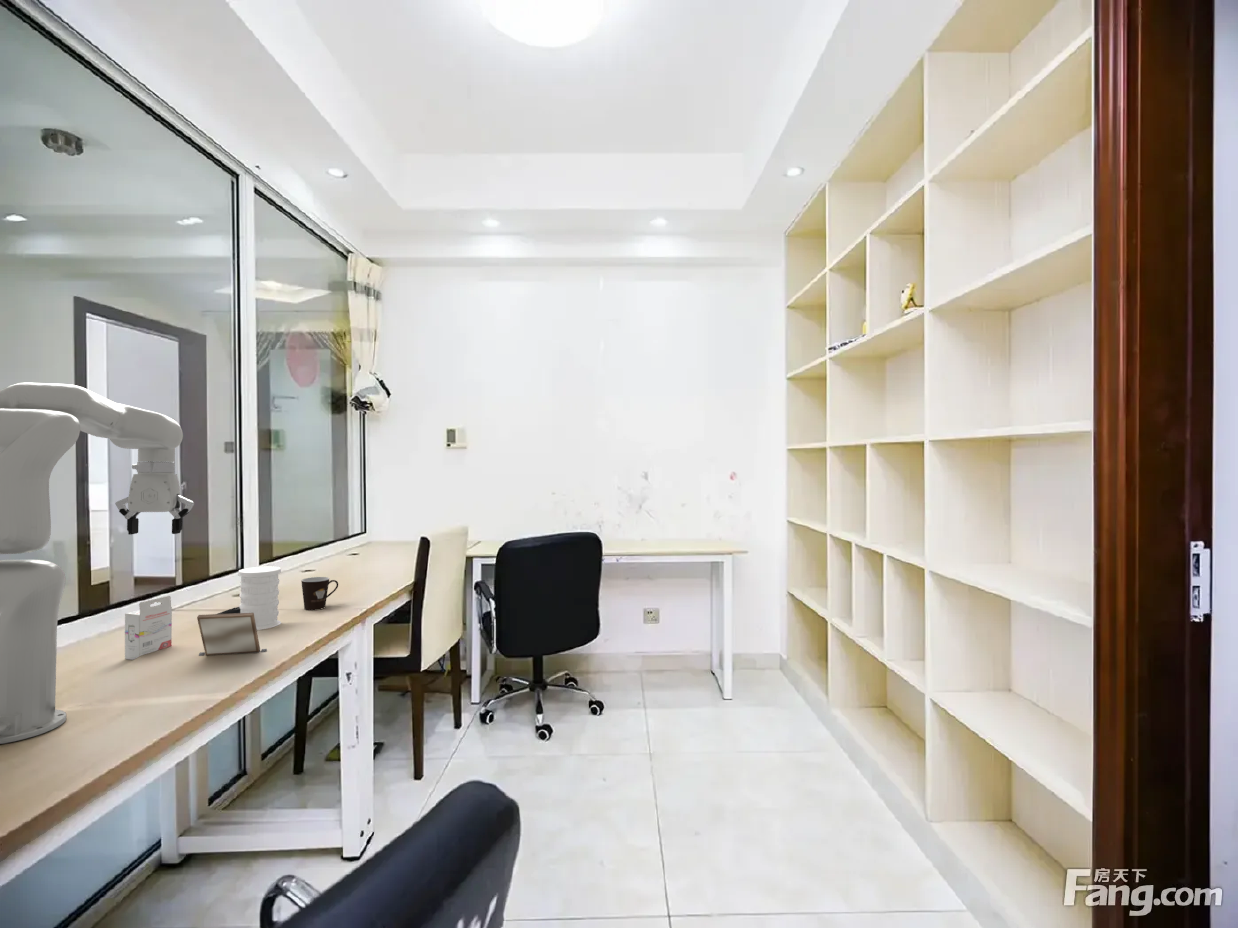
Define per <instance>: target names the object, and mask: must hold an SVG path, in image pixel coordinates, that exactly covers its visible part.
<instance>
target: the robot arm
mask: <svg viewBox="0 0 1238 928" xmlns="http://www.w3.org/2000/svg"><path fill="white" fill-rule="evenodd" d="M80 432H83V433H86V434H88V435H91V436H94V437H97V438H102V439H109V441H110V442H111V443H112V444H113V445H114V446H116V447H119V448H121V449H127V450H137V461H136V463H135V464H134V463H133V464H131V469H132V470H135V471H136V473H133V475H132V478H131V481H130V486H129V491H128V492H129V493H128V496H127V497H124V498H121V499H119V500H118V501H115V507H116V508H117V509H118V512H119V513H120V514H121V515H122V516H123V517H124V519H126V520H127V521H126V530H127V532H128V533H127V534H128V535H131V536H132V535H135V534H139V523H140V521H139V518H138V516H139V515H140V513H167V512H169V514H171V515H172V517H173V518H172V519H171V534H173V535H177V534H180V533H181V531H182V530H183V518H185V517H186V516H187V515H188V514H189V513H190V512H191V511H192V509H193V507H194V506H195V501H193V500H191V499H188V498H187V497H184V496H183V495H181V488H180V482H179V477H178V474H175V463H176V462H175V455H176V453H175V452H176V451H175V450H176V448H178V447H179V446H180V445H181V443H182V441H183V438H184V433H183V430H182V427H181V425H180V424H179V423H178V422H177V421H176V420H174V419H173V418H171V417H169V416H167V415H166V414H162V413H160V412H155V411H153V410H147V409H143V408H140V407H135V406H132V405H127V404H123V403H118V402H115V401H112V400H111V399H108V398H106V397H104V396H102V395H100V394H98V393H96V392H93V391H92V390H90V389H87V388H85V387H83V386H79V385H75V384H68V383H49V382H48V383H45V382H28V381H27V382H18V383H15V384H11V385H8V386H6V387H4V388H2V389H0V555H19V554H20V555H21V554H27V553H28V554H29V553H34V552H37V551H39V550H40V551H41V550H42V549H43V548H44V547H46V546H47V544H48V543H49V541H50V539H51V533H52V532H51V531H52V530H51V529H52V521H51V503H50V502H51V500H50V478H51V473H52V472H53V469H54V468H55V466H56V465H57V463H58V462H59V461H60V459H62V457H63V456H64V455H65V453H67V452H68V451H69V450H70V449H71V448H72V447H73V446H74V445H75V444H76V442H77V441H78V439H79V438H80V437H79V436H80ZM181 503H182V504H184V508H183V509H180V508H181ZM126 505H127V506H126ZM65 573H66V572H65V571H64V570H63V568H62V567H61V566H59V564H56V563H55V562H52V561H48V560H43V559H27V558H26V559H0V745H1V744H9V743H13V742H18V741H22V740H26V739H30V738H33V737H37V736H39V735H42V734H45V733H47V732H48V733H49V731H52V730H54V729H56V728H58V727H60V726H62V725H63V724H64V723H65V722H66V720H67V713H66V711H64V710H61V709H56V691H57V690H56V689H57V688H56V686H57V653H58V652H57V650H58V649H57V648H58V647H57V645H58V644H57V643H58V642H57V639H58V618H59V612H60V606H61V601H62V599H63V595H64V591H65V586H66V574H65Z"/></svg>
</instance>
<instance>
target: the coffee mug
mask: <svg viewBox="0 0 1238 928" xmlns="http://www.w3.org/2000/svg"><path fill="white" fill-rule="evenodd" d="M300 581H301V591H302V599H303V609H304V610H305V609H306V610H305V611H316V610H315V609H320V610H322V609H321V608H323V609H325V608H326V604H327V598H329V597H330V596H331V595H332V594H333V593H334V592H336V591H337V589H338V587H339V582H338V580H335V579H332V580H330V577H328V576H327V577H326V576H314V577H313V576H312V577H311V576H310V577H307V578H303V579H301V580H300ZM333 582H334V583H335V585H336V586H335V588H334V589H333V590H332V591H330V592H329V593H328V590H329V585H330V584H331V583H333ZM324 607H325V608H324Z"/></svg>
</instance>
